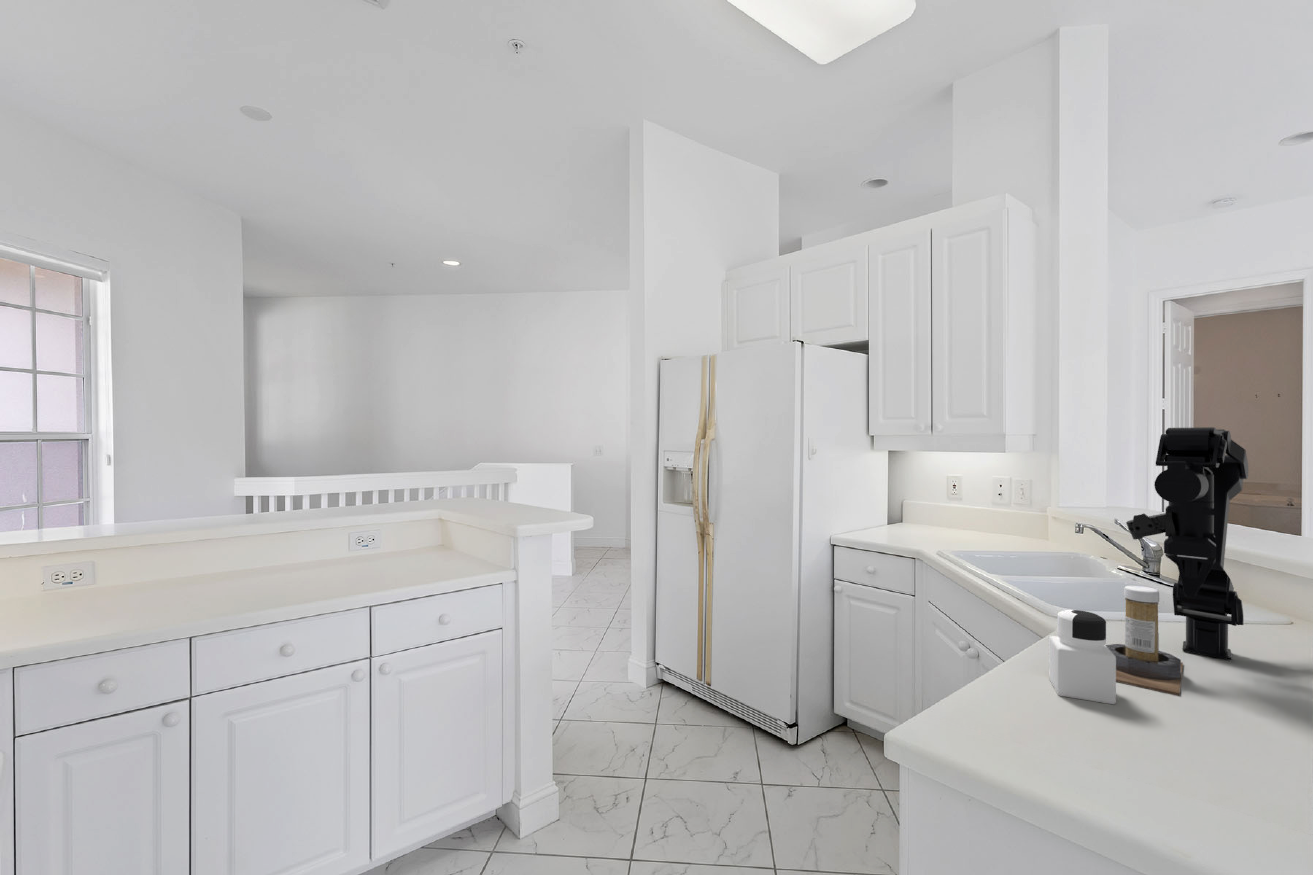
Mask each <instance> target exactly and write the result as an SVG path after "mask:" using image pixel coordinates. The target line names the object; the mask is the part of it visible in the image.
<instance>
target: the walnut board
mask: <svg viewBox="0 0 1313 875" xmlns="http://www.w3.org/2000/svg"><path fill="white" fill-rule="evenodd" d="M1183 667H1184V663H1183V662H1182V661H1181V675H1180V679H1175V680H1158V679H1148V678H1144V677H1139V676H1135V675H1130V674H1127V673H1124V672H1121V671H1118V670H1116V683H1117V682H1118V683H1122V684H1125V685H1130V686H1135V687H1139V688H1142V689H1148V690H1152V691H1156V692H1157V691H1158V692H1161V693H1165V694H1169V695H1173V696H1177V697H1178V696H1180V691H1181V685H1182V684H1181V683H1182V674H1183Z"/></svg>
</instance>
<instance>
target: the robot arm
mask: <svg viewBox="0 0 1313 875" xmlns="http://www.w3.org/2000/svg"><path fill="white" fill-rule="evenodd" d="M1155 467H1166V469H1165V470H1163V471H1161V472H1160V473H1158V475H1157V477H1156V478H1155V481H1154V489H1155V492H1156V494H1157V495H1158V496H1159V497H1160V498H1161V499H1163V500H1164V501H1167V502H1168V505H1166V506H1165V512H1164V513H1159V514H1155V515H1149V516H1148V515H1147V514H1146V513H1142V514H1138V515H1133V518H1132V519H1130V520H1127V521H1126V522H1125V524H1126V525H1127V528H1128V531H1129V533H1130V535H1131V537H1132V539H1133V540H1140V539H1141V540H1142V539H1143V538H1144V537H1150V536H1155V535H1161V534H1165V537H1167V538H1165V540H1163V554H1164V556H1165V557H1166V558H1167V559H1169V560H1170V561H1171V562H1172V563H1174V565H1176V566H1177V570H1178V573H1179V574H1178V579H1177V582H1173V585H1172V586H1173V587H1172V602H1173V613H1174V614H1173V615H1174V616H1180V617H1185V640H1184V641H1183V642H1182V651H1183V652H1186V653H1191V654H1197V655H1201V656H1206V657H1207V656H1208V657H1213V658H1218V659H1223V660H1231V661H1232V658H1233V657H1232V651H1231V649H1230V648H1229V625H1231V626H1234V627H1237V626H1244V620H1245V618H1244V617H1245V616H1244V608H1243V601H1242V600H1241V598H1239V595H1238V592H1237V591H1235V590H1234V588H1235V587H1234V585H1233V582H1232V580H1231V578H1230V576H1229V575H1228V573H1227V572H1226V570H1225V569H1224V565H1225V554H1226V544H1227V534H1228V525H1229V524H1228V522H1229V515H1230V514H1229V513H1230V501H1231V500H1232V499H1234V498H1235V497H1236V496H1237V495H1239V494H1240V493H1241V492H1242V491H1243V486H1244V480H1248V478H1249V462H1248V456H1247V451H1246V449H1245V448H1244V447H1242V446H1241V445H1240V444H1238V443H1236V441H1234V440H1233V439H1232V435H1231V431H1230V430H1225V429H1221V428H1220V429H1219V428H1218V429H1217V428H1216V427H1213V426H1212V427H1209V426H1208V427H1206V426H1204V427H1203V426H1202V427H1168V428H1167V429H1165V433H1162V434H1161V435H1160V438H1159V444H1158V448H1157V454H1156V459H1155ZM1229 615H1230V616H1229Z"/></svg>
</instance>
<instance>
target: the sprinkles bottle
mask: <svg viewBox="0 0 1313 875" xmlns="http://www.w3.org/2000/svg"><path fill="white" fill-rule="evenodd" d="M1123 592H1124V594H1123V595H1124V596H1123V597H1124V600H1125V615H1124V622H1125V623H1124V627H1125V628H1124V629H1125V630H1124V633H1125V634H1124V645H1125V646H1126V656H1128V657H1131V658H1136V659H1140V660H1145V661H1155V662H1158V651H1160V633H1159V602H1160V591H1159V590H1158V589H1156V588H1152V587H1147V586H1141V585H1126V586H1125V587H1124V590H1123Z"/></svg>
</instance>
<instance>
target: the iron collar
mask: <svg viewBox="0 0 1313 875" xmlns="http://www.w3.org/2000/svg"><path fill="white" fill-rule="evenodd" d="M1105 646H1106V647H1107V648H1108V649H1109V650H1110V651H1111V652H1112V653H1113V654H1114V655H1115V656H1116V670H1118V671H1121V672H1124V673H1127V674H1130V675H1135V676H1139V677H1144V678H1148V679H1158V680H1175V679H1180V675H1181V662H1182V661H1181V660H1182V659H1180V658H1178V657H1177V656H1174V655H1173V654H1171V653H1169V652H1165V651H1161V650H1159V651H1158V662H1155V661H1145V660H1140V659H1136V658H1131V657H1128V656H1126V646H1125V643H1124V644H1123V643H1114V644H1113V643H1111V644H1105Z"/></svg>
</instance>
